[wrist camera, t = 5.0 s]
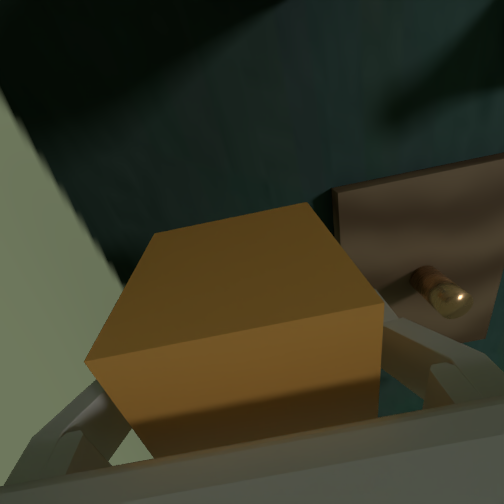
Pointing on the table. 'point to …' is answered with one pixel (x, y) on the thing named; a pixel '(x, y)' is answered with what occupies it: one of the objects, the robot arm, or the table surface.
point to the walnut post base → (430, 242)
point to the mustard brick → (242, 334)
